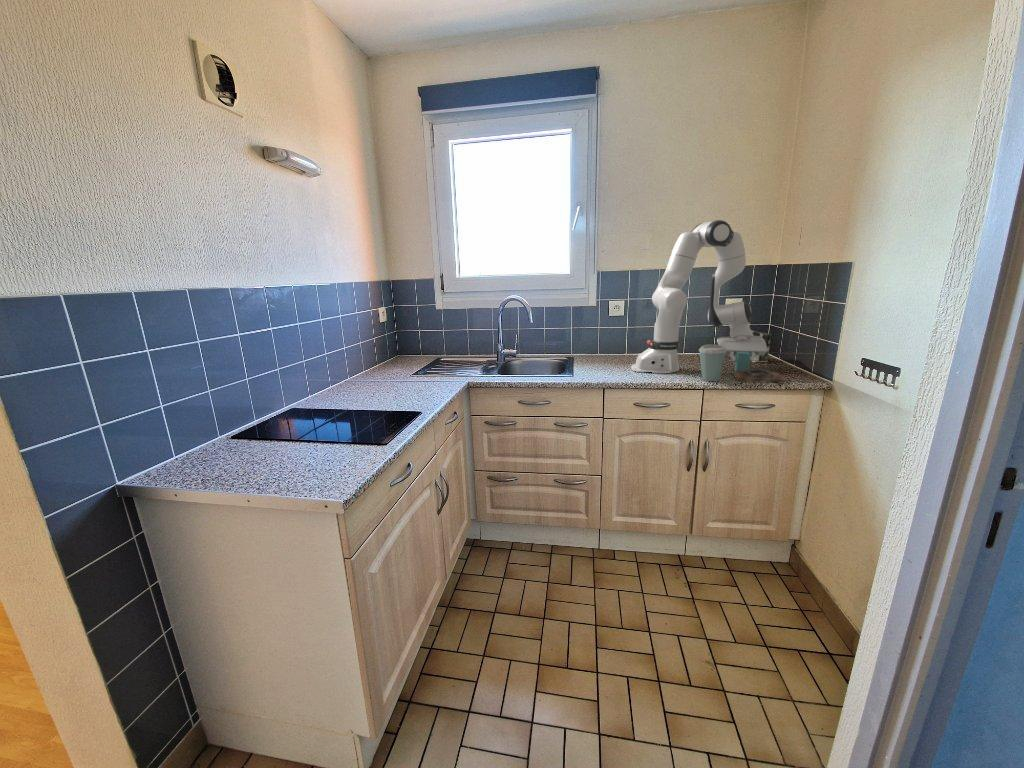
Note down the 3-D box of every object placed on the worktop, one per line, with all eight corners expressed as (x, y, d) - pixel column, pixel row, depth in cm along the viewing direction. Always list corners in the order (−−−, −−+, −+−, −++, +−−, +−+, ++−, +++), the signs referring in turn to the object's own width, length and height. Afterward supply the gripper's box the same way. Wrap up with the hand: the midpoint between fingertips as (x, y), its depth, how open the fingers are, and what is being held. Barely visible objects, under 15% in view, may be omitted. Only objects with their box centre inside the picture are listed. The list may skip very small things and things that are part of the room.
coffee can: (765, 359, 213) (769, 332, 210) (769, 363, 204) (773, 335, 200) (743, 358, 217) (746, 331, 213) (746, 362, 208) (749, 334, 204)
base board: (738, 381, 175) (738, 374, 174) (732, 373, 187) (732, 367, 186) (786, 383, 169) (787, 376, 169) (777, 375, 181) (778, 369, 181)
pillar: (736, 372, 189) (738, 353, 187) (734, 369, 194) (736, 351, 191) (748, 372, 188) (750, 353, 185) (745, 370, 192) (748, 351, 190)
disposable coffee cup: (722, 384, 171) (726, 349, 167) (694, 381, 176) (698, 347, 172) (723, 378, 180) (727, 344, 176) (697, 376, 185) (700, 343, 181)
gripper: (717, 332, 196) (719, 356, 189) (766, 333, 190) (769, 358, 183) (715, 340, 201) (716, 364, 195) (762, 341, 195) (765, 365, 189)
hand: (742, 361), depth 189 cm, fingers closed on pillar, 5 cm apart
